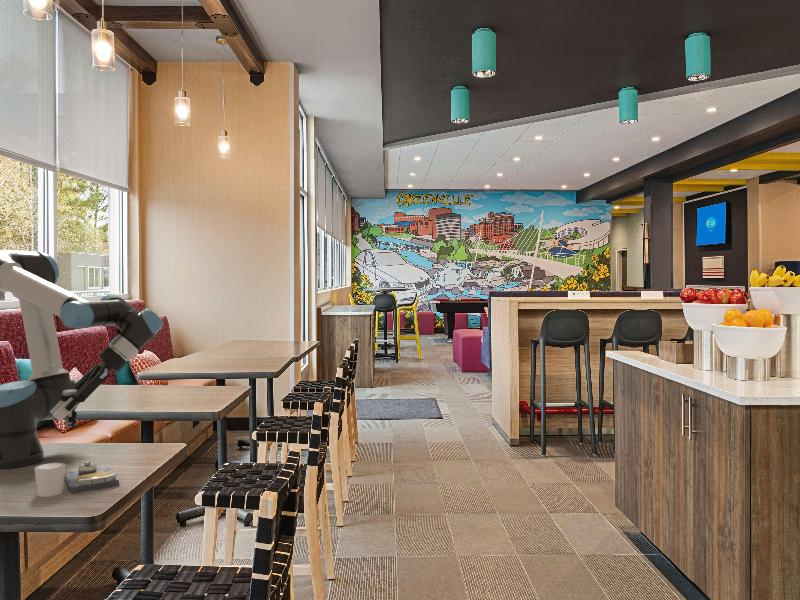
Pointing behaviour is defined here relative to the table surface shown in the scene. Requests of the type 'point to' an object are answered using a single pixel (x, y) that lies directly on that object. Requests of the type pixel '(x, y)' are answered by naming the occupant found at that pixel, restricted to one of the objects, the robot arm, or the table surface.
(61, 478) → the white tapered cup
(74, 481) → the carrier plate
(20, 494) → the table surface
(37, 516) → the table surface
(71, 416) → the push button
